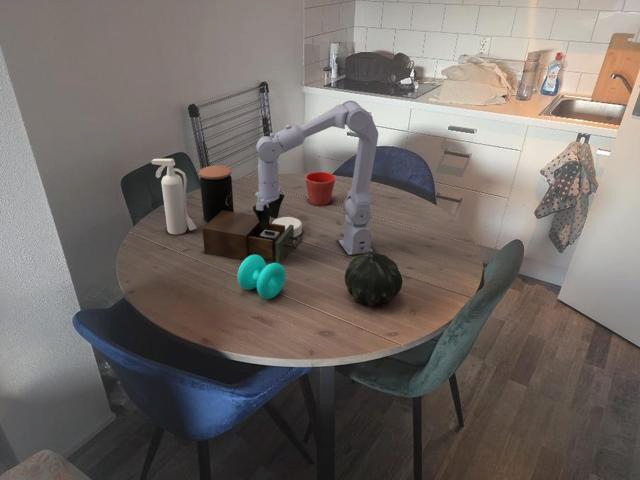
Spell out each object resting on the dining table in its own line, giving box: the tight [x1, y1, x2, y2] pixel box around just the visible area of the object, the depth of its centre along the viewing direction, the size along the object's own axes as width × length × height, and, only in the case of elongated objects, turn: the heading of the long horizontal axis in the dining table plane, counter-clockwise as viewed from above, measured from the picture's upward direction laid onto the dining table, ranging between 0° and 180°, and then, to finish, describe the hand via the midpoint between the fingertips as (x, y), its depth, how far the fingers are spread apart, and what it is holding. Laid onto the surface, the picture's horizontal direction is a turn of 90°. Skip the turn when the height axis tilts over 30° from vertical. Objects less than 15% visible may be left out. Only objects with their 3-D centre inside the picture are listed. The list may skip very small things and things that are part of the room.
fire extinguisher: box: [150, 158, 197, 236], centre depth 161 cm, size 7×12×25 cm, turn 74°
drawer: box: [247, 222, 303, 264], centre depth 152 cm, size 18×12×7 cm
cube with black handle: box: [260, 230, 280, 252], centre depth 152 cm, size 5×4×5 cm
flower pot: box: [305, 171, 336, 206], centre depth 185 cm, size 11×11×10 cm
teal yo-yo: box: [236, 255, 286, 300], centre depth 133 cm, size 10×10×10 cm
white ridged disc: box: [271, 216, 303, 238], centre depth 165 cm, size 10×10×4 cm
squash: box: [344, 251, 403, 307], centre depth 130 cm, size 14×15×15 cm
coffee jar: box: [198, 165, 235, 224], centre depth 170 cm, size 11×11×18 cm
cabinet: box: [201, 210, 260, 261], centre depth 156 cm, size 15×14×9 cm
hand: (269, 223), depth 149 cm, fingers open, 7 cm apart
